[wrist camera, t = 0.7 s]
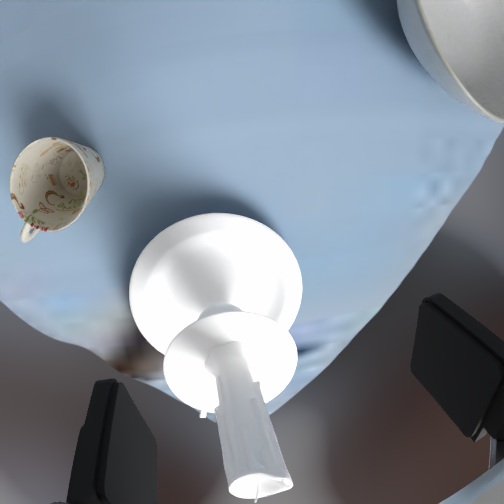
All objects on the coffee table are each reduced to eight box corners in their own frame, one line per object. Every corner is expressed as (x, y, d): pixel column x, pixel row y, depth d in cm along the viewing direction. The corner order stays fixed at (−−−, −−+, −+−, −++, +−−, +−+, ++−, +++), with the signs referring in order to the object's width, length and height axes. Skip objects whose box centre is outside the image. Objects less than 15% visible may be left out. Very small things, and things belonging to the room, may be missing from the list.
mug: (128, 163, 33) (107, 173, 24) (72, 249, 35) (41, 283, 26) (75, 122, 30) (39, 118, 21) (23, 209, 32) (-19, 233, 23)
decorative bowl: (461, 153, 41) (520, 165, 29) (327, 40, 32) (379, 11, 21) (498, 40, 35) (547, 36, 24) (391, -64, 26) (435, -93, 15)
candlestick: (128, 367, 42) (109, 550, 16) (143, 193, 35) (43, 337, 9) (265, 379, 47) (325, 542, 21) (312, 223, 40) (480, 357, 14)
